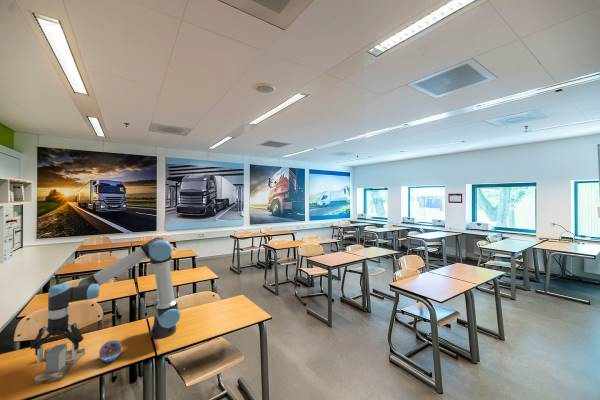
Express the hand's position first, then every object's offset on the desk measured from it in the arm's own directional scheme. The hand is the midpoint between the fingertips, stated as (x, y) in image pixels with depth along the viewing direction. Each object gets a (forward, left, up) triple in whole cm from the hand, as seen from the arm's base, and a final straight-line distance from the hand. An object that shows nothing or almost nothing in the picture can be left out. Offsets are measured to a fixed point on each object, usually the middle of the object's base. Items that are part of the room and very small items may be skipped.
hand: (57, 358), depth 122 cm
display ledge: (0, -5, -7) cm, 9 cm away
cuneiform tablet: (+7, -17, -8) cm, 20 cm away
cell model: (-21, -6, -8) cm, 23 cm away
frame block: (0, 0, -6) cm, 6 cm away
